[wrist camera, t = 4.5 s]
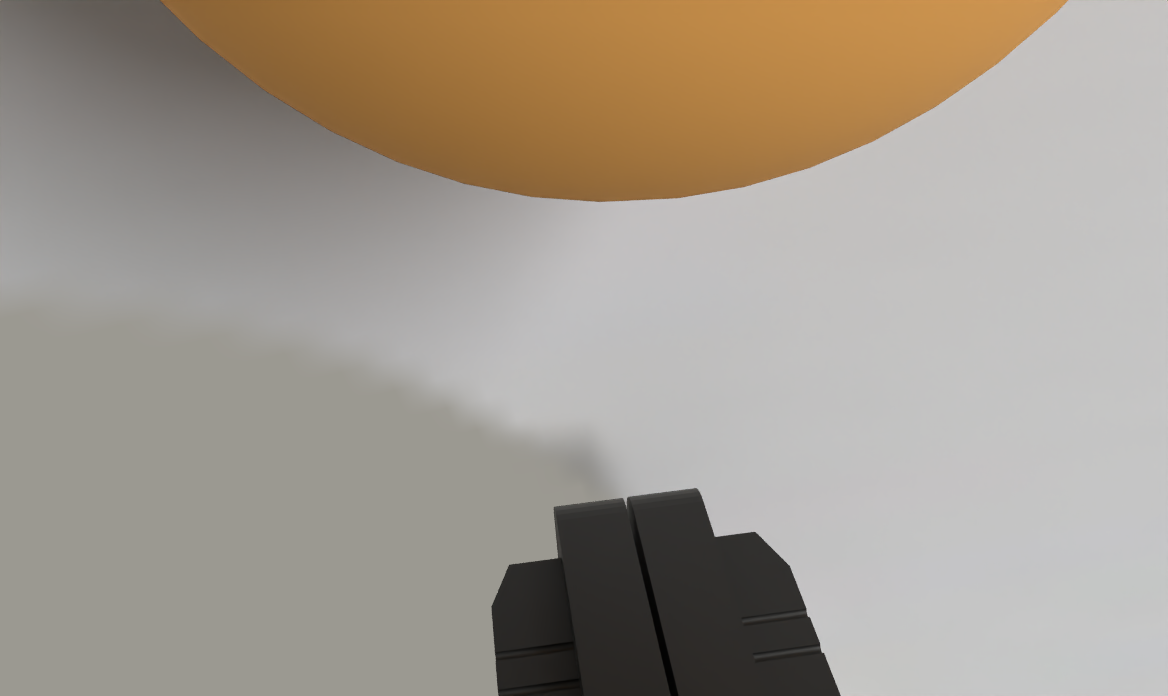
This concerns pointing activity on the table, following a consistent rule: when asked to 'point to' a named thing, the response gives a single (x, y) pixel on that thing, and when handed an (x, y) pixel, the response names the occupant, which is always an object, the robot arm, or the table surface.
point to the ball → (612, 81)
